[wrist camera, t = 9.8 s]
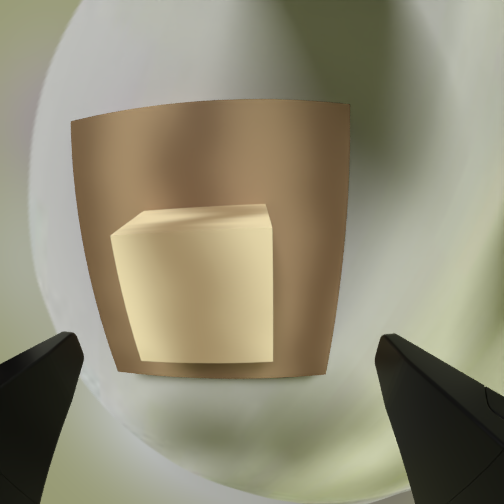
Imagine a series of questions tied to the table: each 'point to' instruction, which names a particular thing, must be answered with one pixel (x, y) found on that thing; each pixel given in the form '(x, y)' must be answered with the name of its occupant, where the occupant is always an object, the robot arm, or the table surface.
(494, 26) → the table surface
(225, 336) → the maple block
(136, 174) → the walnut base
